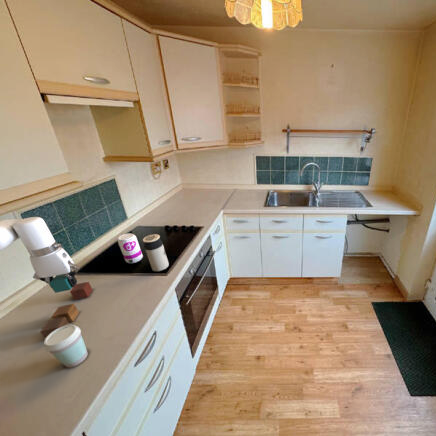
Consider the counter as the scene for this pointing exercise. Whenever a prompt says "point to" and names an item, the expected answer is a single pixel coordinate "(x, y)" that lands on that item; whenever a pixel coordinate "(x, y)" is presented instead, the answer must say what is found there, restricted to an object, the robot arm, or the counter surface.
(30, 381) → the counter surface
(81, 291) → the dark cherry block
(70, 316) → the oak block
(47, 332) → the walnut block
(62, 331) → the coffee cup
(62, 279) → the teal block
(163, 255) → the travel mug
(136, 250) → the supplement can
